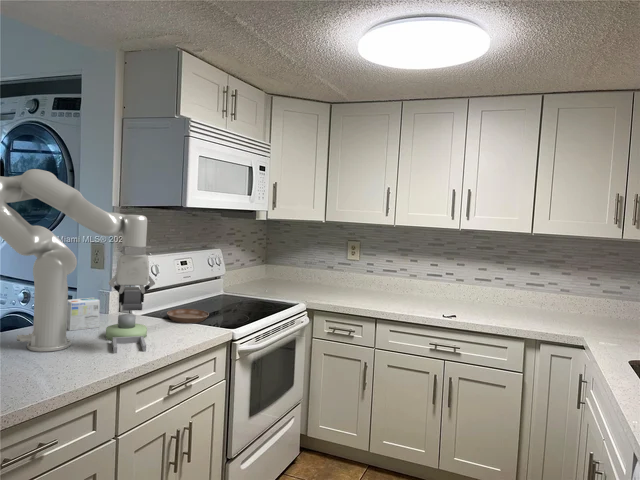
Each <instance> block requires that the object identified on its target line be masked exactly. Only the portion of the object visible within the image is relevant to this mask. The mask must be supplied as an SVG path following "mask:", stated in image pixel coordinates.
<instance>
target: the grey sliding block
mask: <svg viewBox="0 0 640 480" xmlns="http://www.w3.org/2000/svg"><path fill="white" fill-rule="evenodd" d="M123 292H124V304H123V306H121V307H122V308H121V309H122V311H123V312H126V311H127V312H128V311H143V303H142V304H140V299H141V290H140V286H125V287H124V290H123Z"/></svg>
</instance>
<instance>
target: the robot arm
mask: <svg viewBox="0 0 640 480" xmlns="http://www.w3.org/2000/svg"><path fill="white" fill-rule="evenodd" d="M34 199H38V200H39V201H41V202H43V203H45V204H47V205H49V206H50V207H52V208H54V209H56V210H57V211H59V212H61V213H62V214H64V215H66V217H68V218H70V219H71V220H73V221H74V222H76V223H77V224H79V225H81V226H83V228H85V229H88V230H90V231H91V232H93V233H95V234H98V235H99V236H102V237H110V236H114V235H122V236H121V237H122V241H121V246H120V247H117V249H116V252H119V253H120V254H119V255H118V259H117V265H116V273H115V274H114V276H113V277H112V278H111V279H110V280H109V281H108V285H109V286H110V287H111V288H113V289H114V290H115V291H116V292H118V294H119V295H118V303H120V305H121V307H122V306H123V304H124V292H123V290H124V287H139V288H140V290H141V299H140V304H142V305H143V303H144V300H145V299H144V298H145V293H146V292H147V291H149V289H151V288H152V287H153V286H155V285H156V282H155V280H154V279H153V278H152V276H151V275H150V261H149V255H147V253H146V252H147V234H148V233H147V232H148V218H147V217H146V216H145V215H141V214H125V213H119V212H113V211H112V212H110V211H109V212H108V211H106V210H104V209H102V208H101V207H98V206H97V205H95V204H93V203H92V202H90V201H89V200H87V199H86V198H85V197H84V196H83V194H82V193H81V191H79V190H78V189H76V188H74V187H72V186H71V185H69V184H67V183H65V182H64V181H61V180H60V179H59V178H57V176H56V175H55V174H54V173H52V172H51V171H47V170H43V169H38V168H32V169H31V168H30V169H28V170H26V171H25V172H23V173H22V174H20V175H15V176H14V175H13V176H1V175H0V238H1V239H3V241H5V242H6V243H7V244H8V245H9V246H10V247H11V249H13V251H14V252H16V253H18V254H19V255H21V256H24V257H25V256H26V257H27V256H35V258H36V259H35V261H34V263H33V267H32V275H33V282H34V284H33V285H34V299H33V301H34V303H33V304H34V305H33V306H34V307H33V328H32V330H33V331H32V332H31V333H28V334H17V336H16V342H20V343H26V342H27V344H26V348H27V349H28V350H30V351H31V352H32V351H33V352H39V353H40V352H42V353H43V352H45V353H47V352H57V351H60V350H65V349H68V348H69V347H71V346H72V340H71V339H69V338H67V331H68V329H67V306H68V300H69V285H68V278H67V277H68V275H70V274H72V273H73V272H74V271H75V269H76V268H77V264H78V259H77V256H76V255H75V253H74V252H73V251H72V250H71V249H70V248H69V247H68V246H67V245H66V244H65V243H64V242H63V241H62V240H61V239H60V238H59V237H58V236H57V235H56V234H54V233H53V231H51V230H50V229H48V228H46V227H44V226H41V225H32V224H30V223H29V222H28V221H27V220H26V219H25V218H23V216H22V215H21V214H20V213H19V212H17V210H15V209H13V208H12V207H11V206H9V205H8V204H9V203H16V202H17V203H18V202H22V201H27V200H34ZM115 282H116V283H115Z"/></svg>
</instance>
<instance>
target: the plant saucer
mask: <svg viewBox="0 0 640 480" xmlns="http://www.w3.org/2000/svg"><path fill="white" fill-rule="evenodd" d="M166 315H167V317H168V318H169V319H170V320H171V321H173V322H176V323H179V324H197V323H201V322H202V323H203V322H204V321H205V320H206V319H207V318H208V317H209V315H210V313H209V312H208V311H206V310H201V309H195V308H176V309H171V310H168V311H167V312H166Z"/></svg>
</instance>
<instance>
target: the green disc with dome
mask: <svg viewBox="0 0 640 480" xmlns="http://www.w3.org/2000/svg"><path fill="white" fill-rule="evenodd" d="M136 316H137V315H135V314H131V313H125V314H123V313H122V314H119V315H118V316H117V317H118V318H117V323H114V324H110V325H107V326H106V327H105V339H107V340H109V341H112V342H111V343H112V351H113V354H117V353H118V345H119V344H133V343H135V344H136V343H137V344H138V343H139V344H140V346H141V349H142V350H141V351H142V352H147V344H146V343H147V342H146V340H145V338H146V337H147V336H148V333H147V332H148V327H147V325H145V324H141V323H136V321H137V320H136Z"/></svg>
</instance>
